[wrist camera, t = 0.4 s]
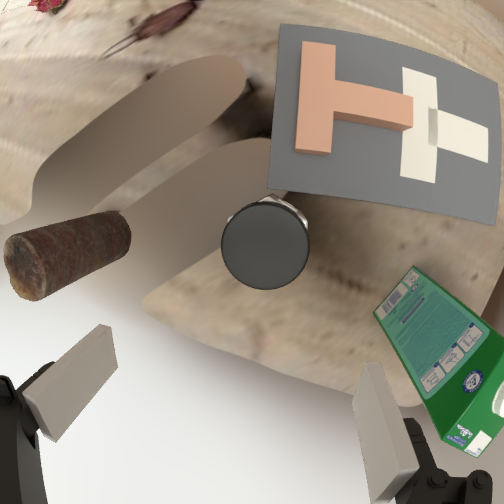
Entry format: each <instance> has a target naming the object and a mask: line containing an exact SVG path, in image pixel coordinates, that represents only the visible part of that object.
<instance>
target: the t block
mask: <svg viewBox="0 0 504 504" xmlns="http://www.w3.org/2000/svg"><path fill="white" fill-rule="evenodd" d="M335 52H336V45H330V44H323V43H315V42H307V41H302V51H301V67H300V83H299V99H298V113H297V126H296V139H295V151H294V152H299V153H308V154H316V155H324V156H327V155H328V154H330V153H331V144H332V130H333V119H338V120H344V121H350V122H356V123H361V124H367V125H372V126H377V127H382V128H386V129H391V130H395V131H400V132H402V131H405V130H407V129H410V128H412V127H413V97H411V96H408V95H404V94H400V93H396V92H392V91H388V90H384V89H380V88H375V87H370V86H366V85H361V84H355V83H350V82H344V81H338V80H335Z"/></svg>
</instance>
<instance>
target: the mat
mask: <svg viewBox="0 0 504 504" xmlns="http://www.w3.org/2000/svg"><path fill="white" fill-rule="evenodd" d="M302 41H307V42H315V43H323V44H330V45H336V52H335V80H338V81H344V82H350V83H355V84H361V85H366V86H370V87H375V88H380V89H384V90H388V91H392V92H396V93H400V94H404V95H408V96H411V97H413V127H412V128H410V129H407V130H405V131H402V132H400V131H395V130H391V129H386V128H382V127H377V126H372V125H367V124H361V123H356V122H350V121H344V120H338V119H333V130H332V144H331V153H330V154H328V155H327V156H324V155H316V154H308V153H299V152H294V151H295V139H296V126H297V113H298V99H299V83H300V67H301V51H302ZM500 178H501V115H500V102H499V92H498V84H497V83H496V82H494V81H492V80H490V79H488V78H486V77H484V76H482V75H480V74H478V73H476V72H474V71H472V70H470V69H467V68H465V67H463V66H461V65H458V64H456V63H453V62H451V61H448V60H446V59H443V58H441V57H438V56H435V55H433V54H430V53H427V52H424V51H421V50H418V49H415V48H412V47H408V46H405V45H402V44H398V43H395V42H391V41H387V40H383V39H379V38H375V37H371V36H366V35H362V34H357V33H352V32H346V31H340V30H334V29H328V28H321V27H312V26H303V25H292V24H281V25H280V38H279V51H278V64H277V77H276V89H275V101H274V114H273V125H272V137H271V149H270V161H269V172H268V184H267V189H274V190H284V191H293V192H302V193H311V194H319V195H327V196H335V197H342V198H349V199H356V200H363V201H370V202H376V203H382V204H388V205H394V206H400V207H406V208H412V209H417V210H422V211H428V212H433V213H438V214H443V215H448V216H453V217H457V218H462V219H467V220H471V221H475V222H480V223H484V224H488V225H492V226H495V225H496V218H497V210H498V202H499V191H500Z"/></svg>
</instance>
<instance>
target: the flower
mask: <svg viewBox="0 0 504 504" xmlns="http://www.w3.org/2000/svg"><path fill="white" fill-rule="evenodd" d="M65 1H66V0H31V2H29V4H28V6H34V5H35V6H36V7H37V9H38V10H36V11H40V12H42V13H43V12H48V11H49V10H50V9H52V10H53V13H54V14H56V13H57V10H56V8H57V7H60V6H63V5H62V3H64V2H65ZM60 4H61V5H60Z"/></svg>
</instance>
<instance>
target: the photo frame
mask: <svg viewBox="0 0 504 504" xmlns="http://www.w3.org/2000/svg"><path fill="white" fill-rule="evenodd" d="M8 1H9V0H7V2H8ZM7 2H6V4H7ZM29 2H31V0H23V2H22V4H21V5H19V6H16V7H13V8H10V9H7V10H4V11H3V9H4V8H5V6H6V4H5V5H4V7H3V9H2V11H1V12H0V14H2V13H5V12H8V11H11V10H14V9H17V8H21V7H24V6H27V5H28V4H29Z"/></svg>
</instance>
